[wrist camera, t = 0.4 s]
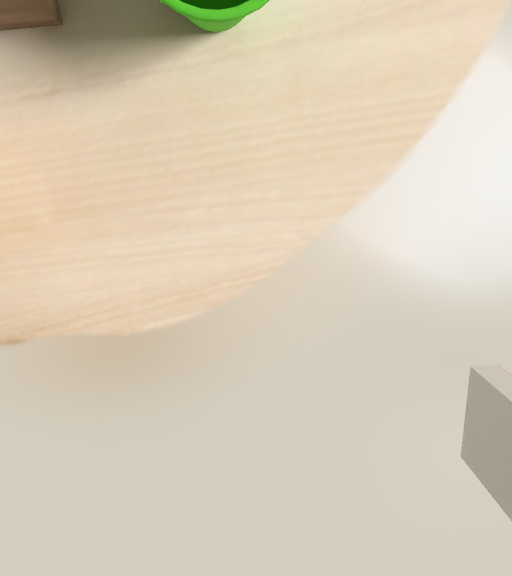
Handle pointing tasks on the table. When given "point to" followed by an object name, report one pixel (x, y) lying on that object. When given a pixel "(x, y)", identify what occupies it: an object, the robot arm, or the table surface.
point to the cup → (214, 11)
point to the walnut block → (28, 14)
